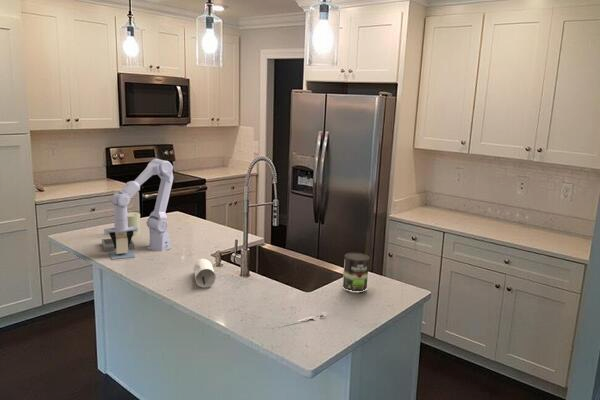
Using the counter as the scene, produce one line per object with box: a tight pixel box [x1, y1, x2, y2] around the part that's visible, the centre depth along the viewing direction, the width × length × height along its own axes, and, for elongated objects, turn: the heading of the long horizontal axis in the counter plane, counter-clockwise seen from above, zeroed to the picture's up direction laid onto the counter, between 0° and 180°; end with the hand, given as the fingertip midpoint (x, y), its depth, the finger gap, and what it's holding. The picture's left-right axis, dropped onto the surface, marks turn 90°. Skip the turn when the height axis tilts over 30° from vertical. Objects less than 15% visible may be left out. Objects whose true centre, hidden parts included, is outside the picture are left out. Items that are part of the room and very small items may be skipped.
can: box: [122, 211, 141, 238], centre depth 253 cm, size 9×9×12 cm
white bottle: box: [193, 257, 217, 288], centre depth 199 cm, size 8×19×8 cm, turn 16°
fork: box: [297, 310, 329, 321], centre depth 167 cm, size 3×20×2 cm, turn 122°
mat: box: [108, 250, 136, 262], centre depth 221 cm, size 10×10×1 cm
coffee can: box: [342, 252, 370, 291], centre depth 197 cm, size 10×10×14 cm
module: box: [114, 235, 128, 254], centre depth 221 cm, size 5×5×7 cm
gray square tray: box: [101, 237, 136, 253], centre depth 233 cm, size 13×13×3 cm
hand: (121, 247), depth 221 cm, fingers closed on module, 5 cm apart
